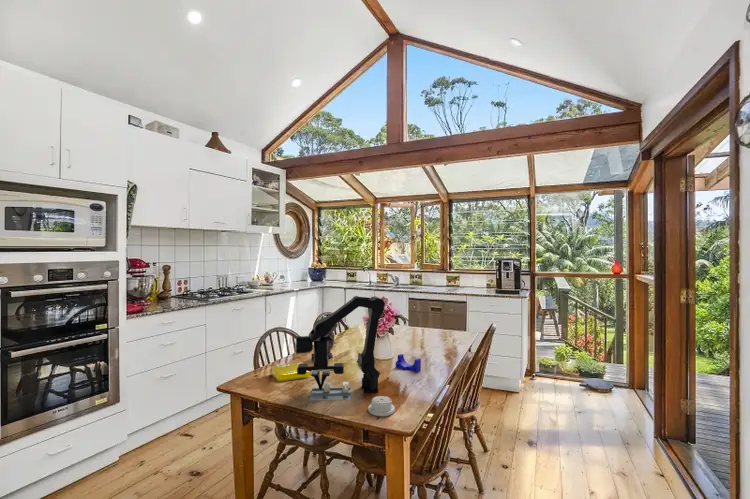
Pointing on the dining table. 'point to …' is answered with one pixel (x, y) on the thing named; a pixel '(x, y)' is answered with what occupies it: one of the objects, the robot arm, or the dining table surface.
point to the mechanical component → (381, 406)
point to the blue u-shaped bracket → (404, 365)
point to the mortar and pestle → (330, 343)
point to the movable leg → (327, 387)
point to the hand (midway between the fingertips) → (320, 389)
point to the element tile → (288, 372)
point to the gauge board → (332, 393)
